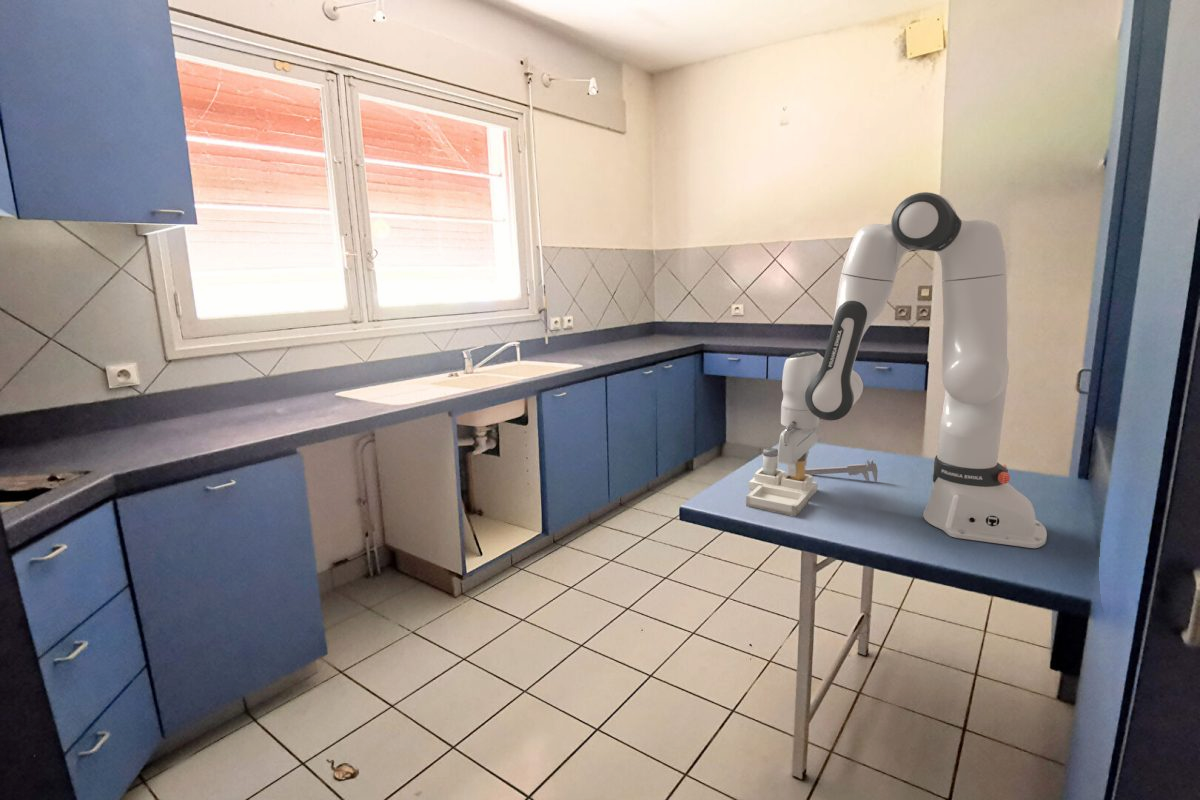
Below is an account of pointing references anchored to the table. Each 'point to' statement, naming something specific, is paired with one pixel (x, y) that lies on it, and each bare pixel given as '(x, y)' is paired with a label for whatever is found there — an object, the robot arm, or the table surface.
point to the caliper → (848, 470)
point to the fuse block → (780, 476)
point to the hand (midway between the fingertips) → (797, 470)
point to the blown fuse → (800, 469)
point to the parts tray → (777, 500)
